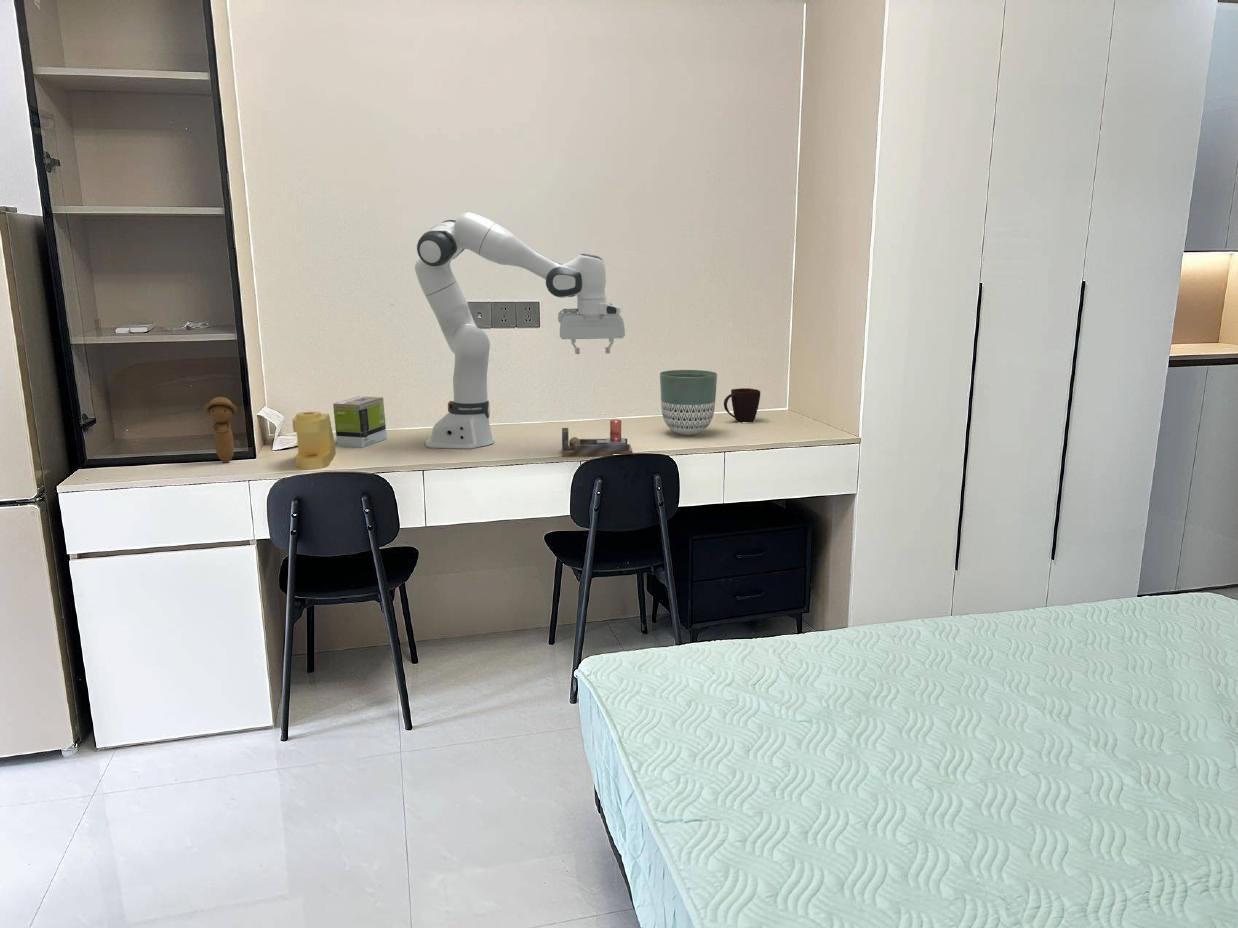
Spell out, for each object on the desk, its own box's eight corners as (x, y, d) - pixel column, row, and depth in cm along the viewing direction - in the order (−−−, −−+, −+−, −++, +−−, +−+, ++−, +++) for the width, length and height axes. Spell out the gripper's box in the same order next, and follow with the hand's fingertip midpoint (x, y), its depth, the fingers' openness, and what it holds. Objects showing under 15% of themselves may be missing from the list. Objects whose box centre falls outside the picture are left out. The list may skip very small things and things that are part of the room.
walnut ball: (569, 449, 278) (569, 438, 277) (569, 447, 281) (569, 436, 280) (580, 449, 278) (580, 438, 277) (580, 447, 282) (580, 436, 281)
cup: (763, 423, 330) (764, 391, 327) (730, 425, 324) (731, 393, 322) (749, 418, 339) (750, 387, 336) (717, 421, 333) (718, 389, 330)
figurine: (207, 465, 263) (200, 399, 258) (212, 460, 270) (205, 395, 265) (240, 464, 265) (233, 398, 261) (244, 458, 272) (237, 394, 267)
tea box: (362, 437, 303) (359, 395, 300) (387, 439, 300) (384, 396, 297) (335, 446, 290) (332, 402, 286) (362, 448, 287) (359, 403, 283)
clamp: (326, 469, 259) (322, 415, 256) (293, 470, 258) (289, 416, 254) (335, 454, 278) (331, 404, 275) (305, 455, 277) (301, 405, 273)
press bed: (562, 456, 275) (562, 433, 273) (562, 449, 285) (561, 427, 283) (632, 455, 276) (632, 432, 275) (630, 448, 286) (630, 426, 284)
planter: (725, 437, 304) (727, 375, 299) (674, 441, 297) (675, 378, 292) (699, 427, 322) (700, 368, 317) (650, 431, 315) (650, 371, 310)
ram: (597, 450, 277) (597, 422, 275) (596, 445, 283) (596, 418, 281) (625, 449, 277) (625, 422, 275) (624, 445, 284) (624, 418, 282)
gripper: (557, 309, 266) (558, 355, 269) (625, 308, 267) (625, 354, 270) (558, 308, 272) (559, 352, 276) (623, 307, 273) (624, 351, 277)
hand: (592, 353), depth 273 cm, fingers open, 8 cm apart
